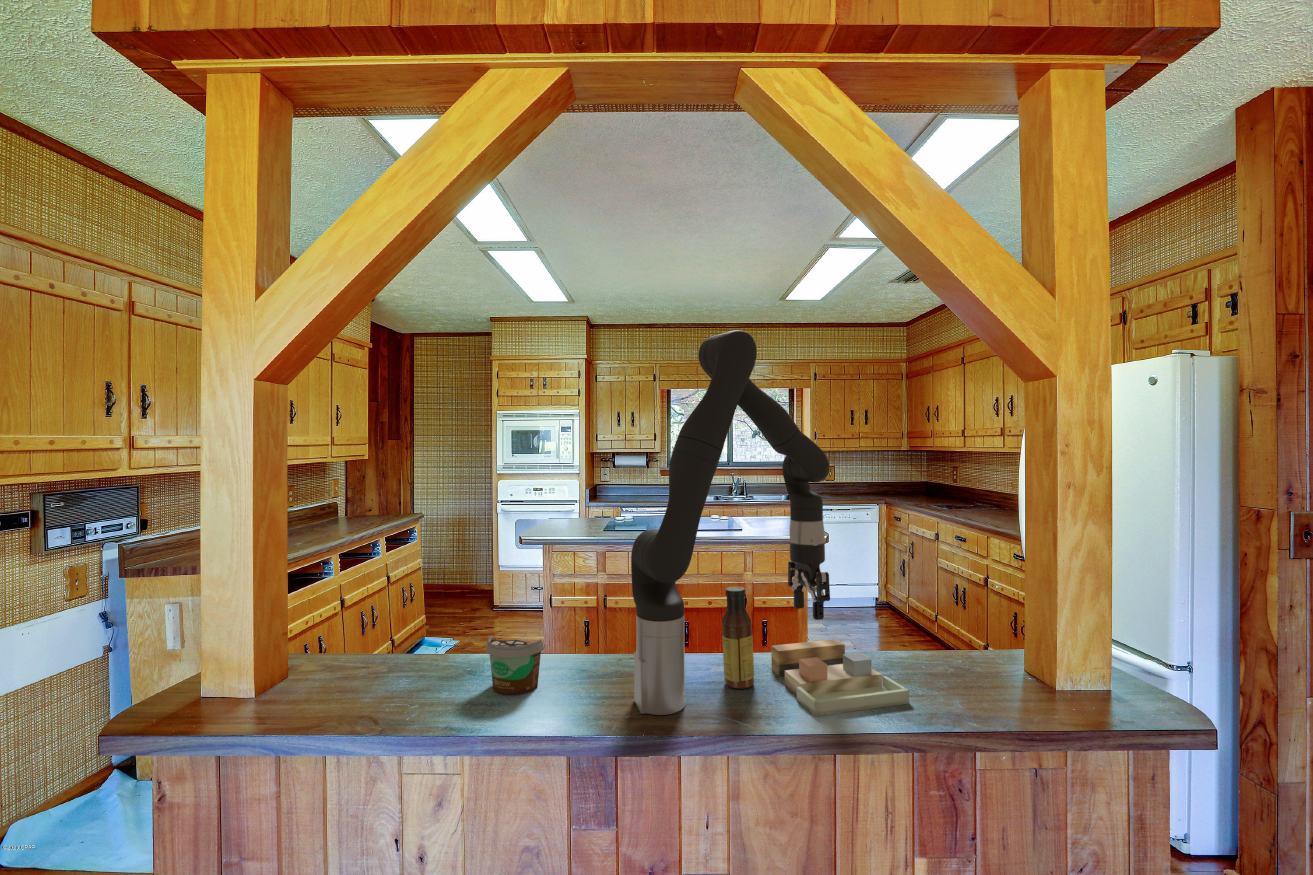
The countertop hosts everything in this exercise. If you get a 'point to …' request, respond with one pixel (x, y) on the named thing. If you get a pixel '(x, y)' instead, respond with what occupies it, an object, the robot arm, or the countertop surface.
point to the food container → (514, 665)
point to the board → (832, 681)
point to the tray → (854, 698)
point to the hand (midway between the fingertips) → (808, 613)
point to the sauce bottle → (737, 641)
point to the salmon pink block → (813, 669)
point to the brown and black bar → (805, 654)
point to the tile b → (857, 664)
